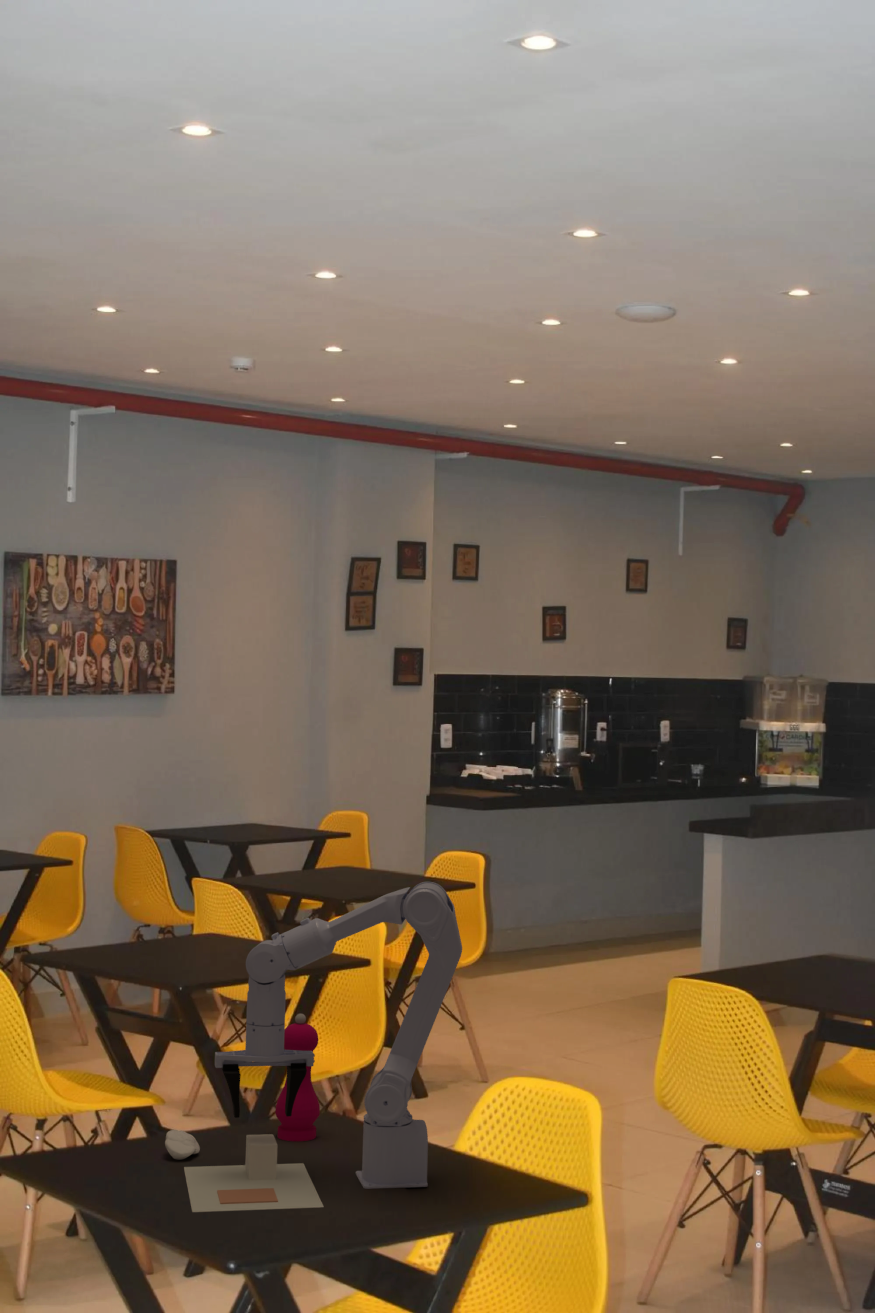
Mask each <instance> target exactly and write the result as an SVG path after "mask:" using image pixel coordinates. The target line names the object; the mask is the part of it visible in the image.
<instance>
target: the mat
mask: <svg viewBox="0 0 875 1313" xmlns="http://www.w3.org/2000/svg"><path fill="white" fill-rule="evenodd" d="M183 1170H184V1176H185V1181H186V1186H187V1191H188V1197H189V1202H190V1206H191V1207H190V1208H191V1212H192V1213H210V1212H232V1211H233V1212H237V1211H262V1210H289V1209H290V1210H291V1209H292V1210H293V1209H312V1208H313V1209H315V1208H316V1209H317V1208H324V1204H323V1202H322V1201H321V1200H322V1199H321V1198H320V1196H319V1194H318V1192H317V1190H316V1187H315V1185H314V1183H313V1181H312V1179H311V1177H310V1174H309V1173H308V1170H307V1168H306V1166H305V1164H304V1162H302V1163H300V1162H299V1163H277V1177H276V1179H273V1180H249V1179H248V1176H247V1173H246V1170H245V1164H243V1165H241V1164H239V1165H238V1164H237V1165H236V1164H235V1165H210V1166H209V1165H208V1166H207V1165H205V1166H184V1167H183ZM263 1188H274V1191H275V1194H276V1196H277V1199H278V1202H267V1203H240V1204H220V1201H219V1197H218V1193H217V1190H235V1189H263Z"/></svg>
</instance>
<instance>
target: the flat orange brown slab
mask: <svg viewBox="0 0 875 1313" xmlns="http://www.w3.org/2000/svg"><path fill="white" fill-rule="evenodd" d="M217 1193H218V1197H219V1201H220V1204H240V1203H267V1202H278V1199H277V1196H276V1194H275V1191H274V1188H263V1189H235V1190H217Z"/></svg>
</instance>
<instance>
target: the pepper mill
mask: <svg viewBox="0 0 875 1313" xmlns="http://www.w3.org/2000/svg"><path fill="white" fill-rule="evenodd" d="M294 1021H295V1022H294V1023H292V1024H289V1025H288V1026H286V1027H285V1033H284V1050H298V1051H312V1052H313V1053H314V1051H315V1049H316V1048H317V1047H318V1043H319V1035H318V1032H317V1029H315V1027H314V1026H313V1025H310V1024H309V1023H306V1021H307V1017H306V1015H305V1014H304V1013H297V1014H296V1016H295V1017H294ZM315 1056H316V1055H315V1053H314V1058H315ZM314 1063H315V1059H314ZM312 1067H313V1066H306V1069H307V1073H306V1076H305V1078H304V1080H303V1081H302V1083H301V1085H300V1088H299V1090H298V1092H297V1095H296V1098H295V1101H294V1105H293V1109H292V1115H291V1116H286V1114H285V1102H286V1092H287V1075H286V1078H285V1080H284V1081H285V1083H284V1085H283V1088H282V1090H281V1092H280V1094H279V1095H278V1098H277V1101H276V1105H275V1111H274V1113H275V1116H276V1118H277V1120H278V1121H279V1122H280V1125H278V1126H277V1139H280V1140H281V1141H288V1142H304V1141H305V1142H306V1141H311V1140H315V1138H316V1139H317V1126H315V1124H314V1123H315V1122H316V1121H317V1120H318V1118H319V1116H320V1114H321V1110H320V1108H321V1107H320V1102H319V1099H318V1098H319V1097H318V1096H317V1094H316V1091H315V1089H314V1086H313V1082H312Z"/></svg>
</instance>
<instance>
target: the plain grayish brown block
mask: <svg viewBox="0 0 875 1313" xmlns="http://www.w3.org/2000/svg"><path fill="white" fill-rule="evenodd" d="M245 1139H246V1140H245V1163H244V1165H245V1170H246V1173H247V1176H248V1179H249V1180H273V1179H276V1177H277V1164H278V1142H277V1140H276V1138H275V1136H274V1134H272V1133H271V1134H270V1133H269V1134H246V1137H245Z"/></svg>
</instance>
